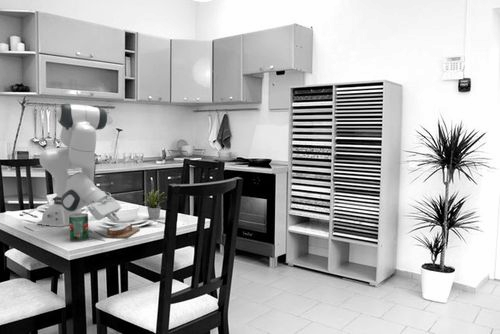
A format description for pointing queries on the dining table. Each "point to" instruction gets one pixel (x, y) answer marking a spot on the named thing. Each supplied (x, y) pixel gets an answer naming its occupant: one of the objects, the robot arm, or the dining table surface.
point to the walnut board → (127, 235)
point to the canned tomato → (78, 227)
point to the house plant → (153, 205)
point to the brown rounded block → (119, 229)
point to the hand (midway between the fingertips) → (117, 221)
